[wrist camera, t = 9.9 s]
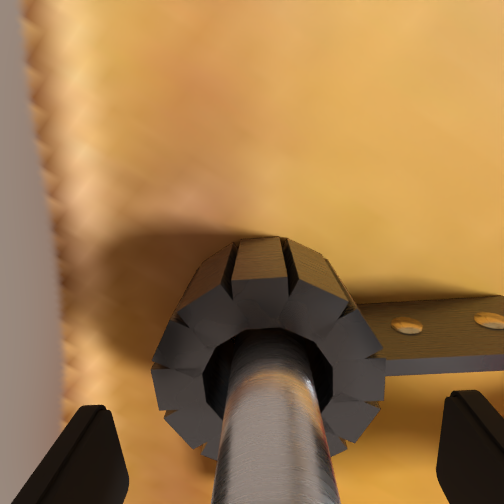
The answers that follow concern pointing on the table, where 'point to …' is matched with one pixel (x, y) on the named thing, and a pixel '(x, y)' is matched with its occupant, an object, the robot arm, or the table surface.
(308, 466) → the hinge pin
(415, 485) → the table surface
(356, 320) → the hinge
